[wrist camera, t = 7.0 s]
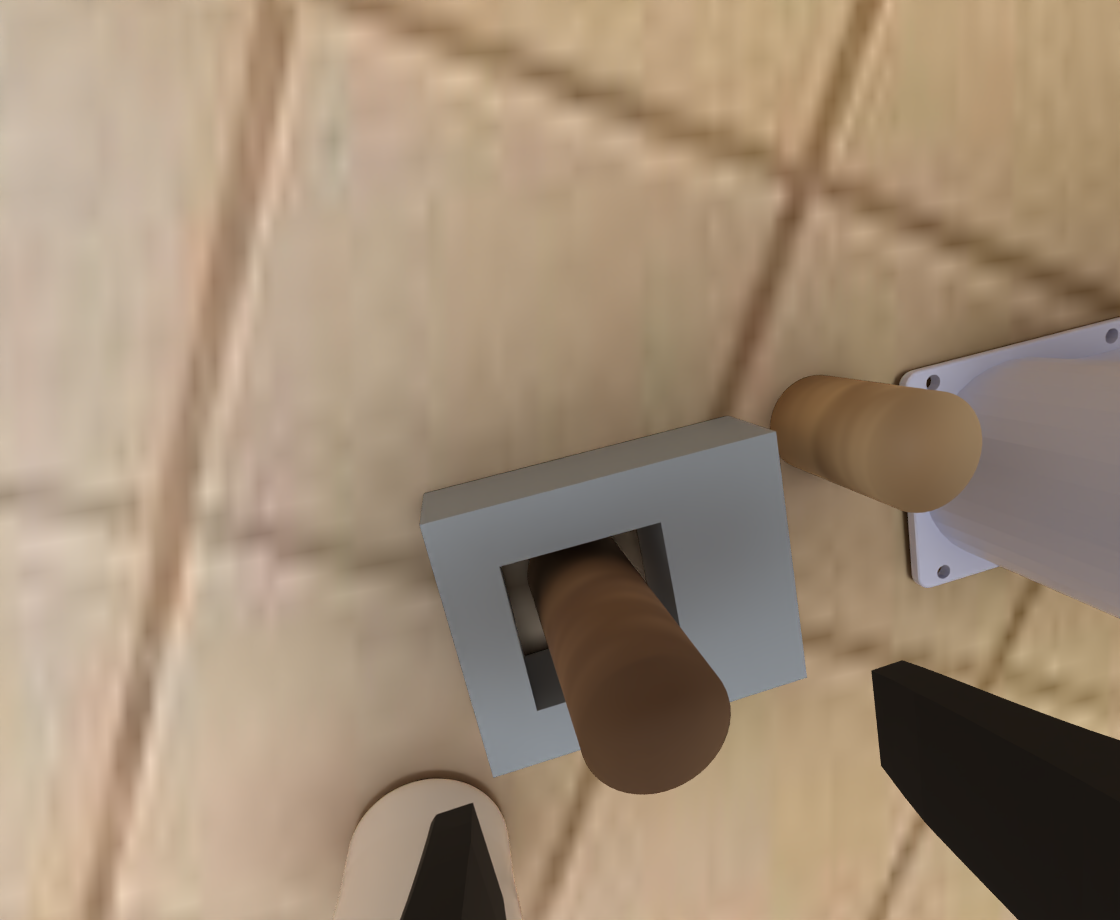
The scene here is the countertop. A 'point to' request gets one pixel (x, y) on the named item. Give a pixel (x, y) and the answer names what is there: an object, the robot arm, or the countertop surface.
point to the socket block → (668, 557)
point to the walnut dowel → (627, 671)
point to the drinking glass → (414, 848)
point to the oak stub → (880, 439)
